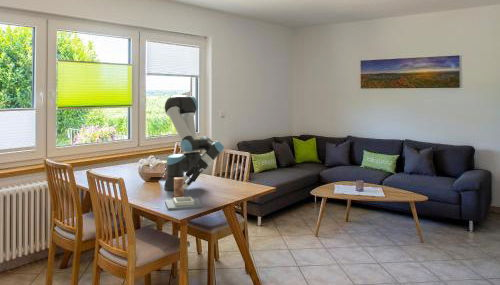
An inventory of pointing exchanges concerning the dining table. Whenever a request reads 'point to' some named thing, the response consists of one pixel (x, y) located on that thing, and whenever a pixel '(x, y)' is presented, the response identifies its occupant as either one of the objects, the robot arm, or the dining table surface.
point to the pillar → (178, 187)
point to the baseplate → (183, 203)
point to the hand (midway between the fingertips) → (181, 186)
